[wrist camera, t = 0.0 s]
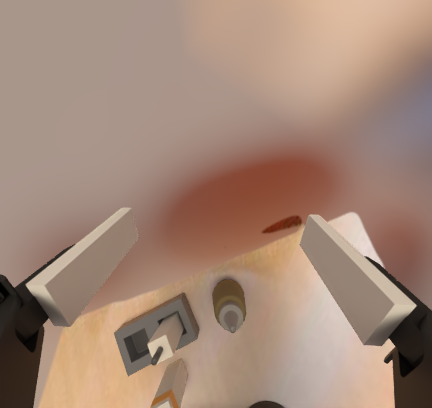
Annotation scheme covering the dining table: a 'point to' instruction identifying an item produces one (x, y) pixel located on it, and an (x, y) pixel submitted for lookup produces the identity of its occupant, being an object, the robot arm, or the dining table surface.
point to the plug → (171, 386)
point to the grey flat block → (152, 332)
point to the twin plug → (166, 338)
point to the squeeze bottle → (229, 305)
